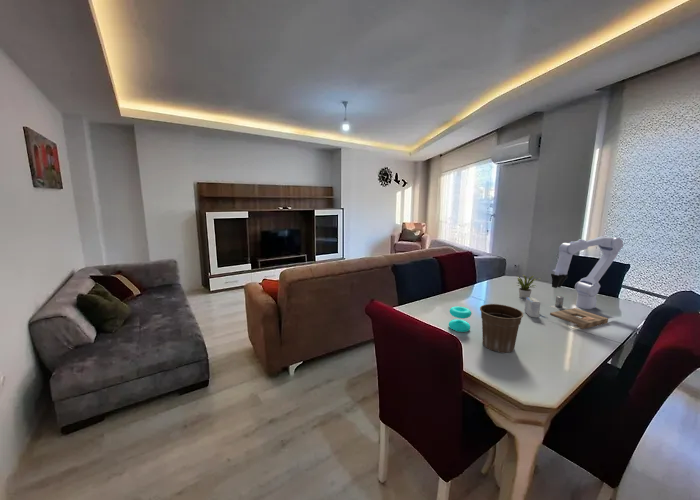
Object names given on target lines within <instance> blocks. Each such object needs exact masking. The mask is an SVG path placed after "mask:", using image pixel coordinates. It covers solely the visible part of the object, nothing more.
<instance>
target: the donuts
mask: <svg viewBox="0 0 700 500" xmlns="http://www.w3.org/2000/svg"><path fill="white" fill-rule="evenodd" d="M449 314H450V315H451V316H452V317H454V318H455V319H452V320H450V321H449V322H448V327H449V328H450V329H451V330H452V329H453V330H452V331H454V330H455V332H459V333H467V332H469V331H470V330H471V325H470V323H469V322H467V321H466V320H464V319H468V318H470V317H471V316H472V311H471V310H470V308H468V307H465V306H459V305H456V306H452V307H451V308H449Z"/></svg>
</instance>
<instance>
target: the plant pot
mask: <svg viewBox="0 0 700 500" xmlns="http://www.w3.org/2000/svg"><path fill="white" fill-rule="evenodd" d="M479 311H480V315H481V316H480V317H481V325H482V326H481V329H482V331H481V332H482V334H481V335H482V345H483V346H484V347H485V348H486V349H488V350H490V351H493V352H496V351H497V352H499V353H501V354H503V353H504V354H505V353H506V354H507V353H512V352H513V351H515V347H516V341H517V337H518V332H519V328H520V327H519V326H520V325H521V322H522V318H523V317H524V313H523V311H521V310H520V309H518V308H515V307H513V306H509V305H505V304H497V303H489V304H483V305H481V306H480V307H479Z"/></svg>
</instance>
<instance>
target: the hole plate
mask: <svg viewBox="0 0 700 500" xmlns="http://www.w3.org/2000/svg"><path fill="white" fill-rule="evenodd" d="M549 315H551V316H553V317H556V318H559V319H562V320H564V321H568V322H570V323H573V324H575V325H574V327H575V328H578V329H582V330H585V329H588V328H593V327H597V325H598V326H601V324H602V325H605V324H608V322H609V317H605V316H601V315H599V314H595V313H593V312H589V311H585V310H584V309H580V308H576V307H574V308H566V309H561V310H557V311H551V312H550V313H549Z"/></svg>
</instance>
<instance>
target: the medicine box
mask: <svg viewBox="0 0 700 500" xmlns="http://www.w3.org/2000/svg"><path fill="white" fill-rule="evenodd" d="M540 309H541V302H540V300H538V299H537V298H535V297H529V298H525V305H524V313H526V314H527V315H528V316H529V317H530V318H540V311H541V310H540Z"/></svg>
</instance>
